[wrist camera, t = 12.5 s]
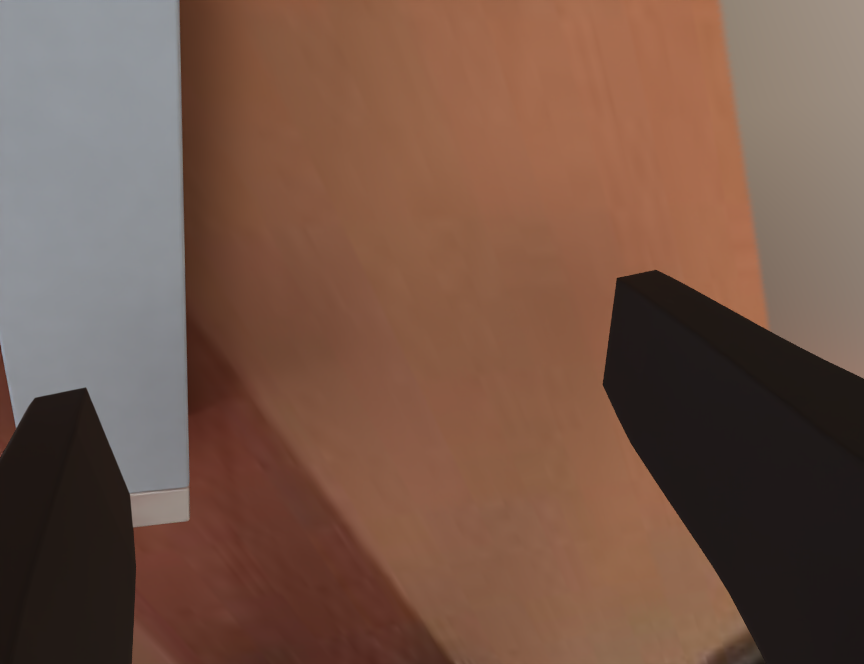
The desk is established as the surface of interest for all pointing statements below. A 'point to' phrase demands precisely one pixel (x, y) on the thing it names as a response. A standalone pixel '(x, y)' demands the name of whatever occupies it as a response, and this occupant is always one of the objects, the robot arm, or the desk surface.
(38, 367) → the stapler
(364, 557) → the desk surface
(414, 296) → the desk surface
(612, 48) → the desk surface
